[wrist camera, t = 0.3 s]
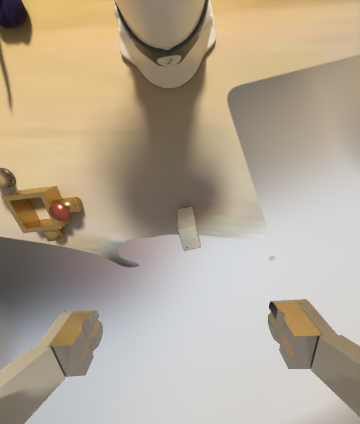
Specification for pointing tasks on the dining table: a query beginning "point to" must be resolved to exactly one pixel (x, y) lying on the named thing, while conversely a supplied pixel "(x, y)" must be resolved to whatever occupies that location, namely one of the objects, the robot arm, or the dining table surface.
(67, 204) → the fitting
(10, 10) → the figurine
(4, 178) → the cylinder
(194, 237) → the skincare box
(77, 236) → the dining table surface
